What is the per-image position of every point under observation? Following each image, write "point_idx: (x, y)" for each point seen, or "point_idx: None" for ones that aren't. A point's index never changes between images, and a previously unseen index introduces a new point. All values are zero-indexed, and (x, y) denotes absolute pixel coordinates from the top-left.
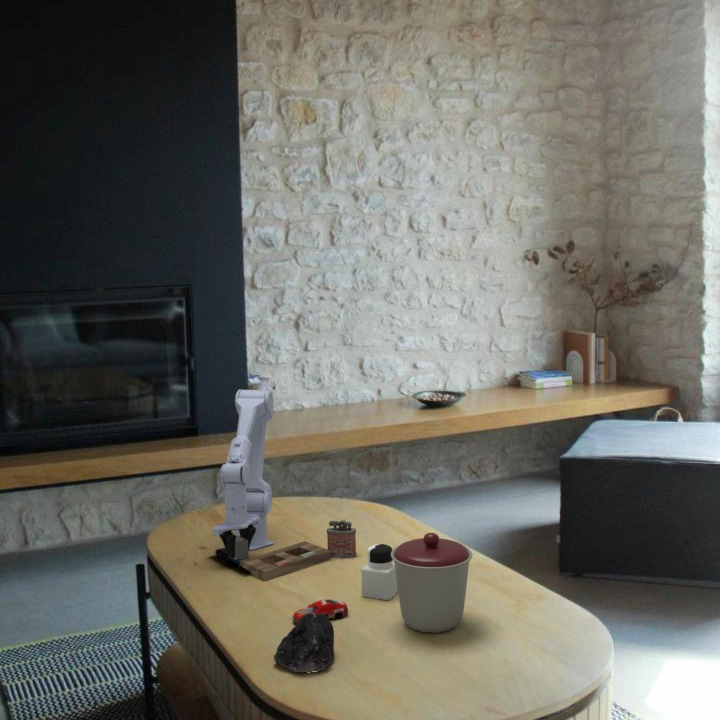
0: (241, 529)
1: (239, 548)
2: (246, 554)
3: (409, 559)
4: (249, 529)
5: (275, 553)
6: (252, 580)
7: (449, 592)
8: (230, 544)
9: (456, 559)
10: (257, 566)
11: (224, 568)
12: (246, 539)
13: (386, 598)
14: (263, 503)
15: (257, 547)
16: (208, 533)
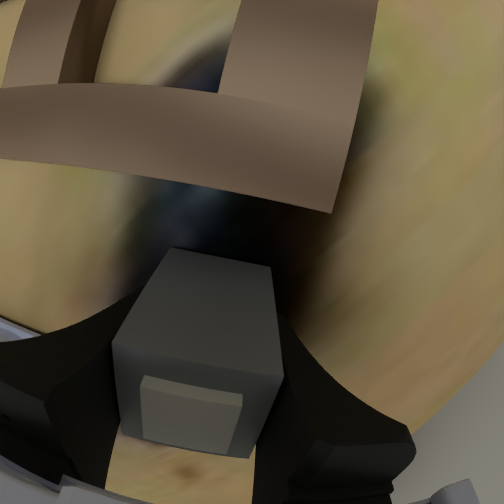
0: (94, 473)
1: (236, 326)
2: (175, 273)
3: None
4: (36, 420)
5: (40, 102)
6: (402, 21)
7: None
8: (341, 387)
9: None
10: (350, 3)
11: (335, 297)
12: (118, 359)
13: None
14: None
15: (32, 334)
16: (107, 487)
